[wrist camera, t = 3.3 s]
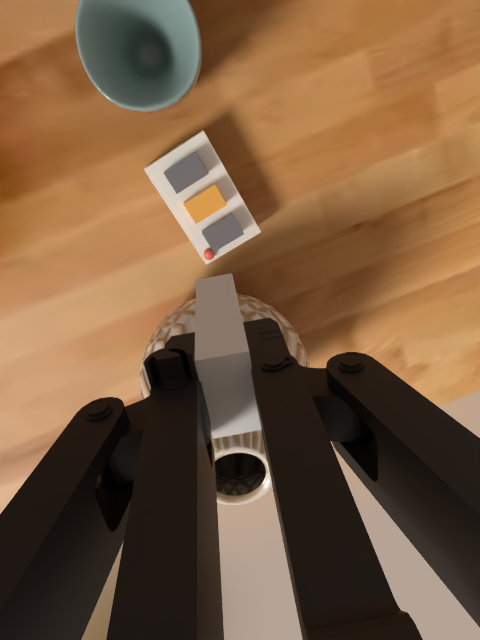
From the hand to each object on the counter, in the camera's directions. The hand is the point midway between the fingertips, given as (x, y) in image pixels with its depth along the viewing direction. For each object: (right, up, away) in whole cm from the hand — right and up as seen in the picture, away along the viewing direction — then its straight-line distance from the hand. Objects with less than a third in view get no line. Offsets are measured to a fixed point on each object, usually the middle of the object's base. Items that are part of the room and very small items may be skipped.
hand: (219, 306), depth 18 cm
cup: (-6, +21, +18) cm, 28 cm away
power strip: (-3, +11, +23) cm, 26 cm away
